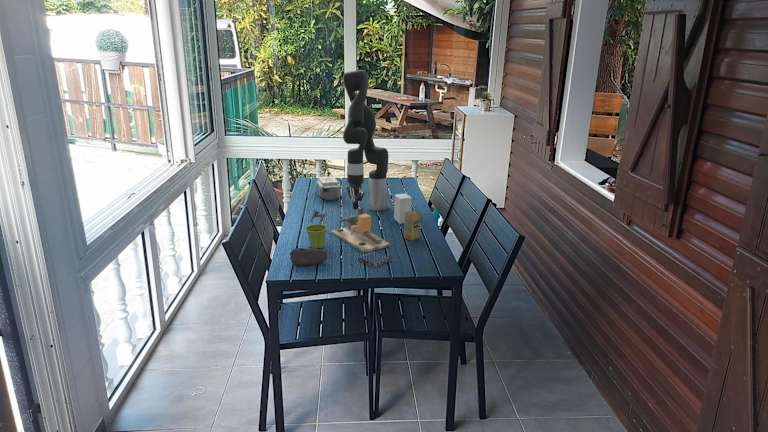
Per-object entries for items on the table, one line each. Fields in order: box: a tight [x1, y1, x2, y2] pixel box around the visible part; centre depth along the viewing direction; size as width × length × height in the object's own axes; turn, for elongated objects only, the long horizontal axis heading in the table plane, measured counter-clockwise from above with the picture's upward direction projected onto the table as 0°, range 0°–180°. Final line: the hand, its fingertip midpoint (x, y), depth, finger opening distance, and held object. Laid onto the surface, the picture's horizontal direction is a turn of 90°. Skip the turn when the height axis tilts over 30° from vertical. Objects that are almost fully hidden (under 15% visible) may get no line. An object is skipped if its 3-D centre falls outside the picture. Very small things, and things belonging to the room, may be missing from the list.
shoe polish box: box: [403, 210, 421, 241], centre depth 232 cm, size 5×5×12 cm
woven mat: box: [357, 250, 392, 269], centre depth 210 cm, size 10×11×2 cm
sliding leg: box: [350, 213, 372, 235], centre depth 231 cm, size 9×4×8 cm, turn 124°
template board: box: [331, 214, 391, 254], centre depth 230 cm, size 14×28×7 cm, turn 34°
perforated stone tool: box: [289, 247, 329, 267], centre depth 205 cm, size 15×5×7 cm, turn 100°
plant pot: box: [305, 223, 328, 249], centre depth 222 cm, size 9×9×9 cm
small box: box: [393, 193, 413, 225], centre depth 254 cm, size 8×6×13 cm
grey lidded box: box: [315, 175, 342, 201], centre depth 294 cm, size 12×28×10 cm, turn 15°
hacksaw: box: [308, 210, 328, 225], centre depth 256 cm, size 24×10×2 cm, turn 177°
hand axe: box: [346, 208, 364, 227], centre depth 260 cm, size 27×2×10 cm
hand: (355, 209), depth 236 cm, fingers closed
